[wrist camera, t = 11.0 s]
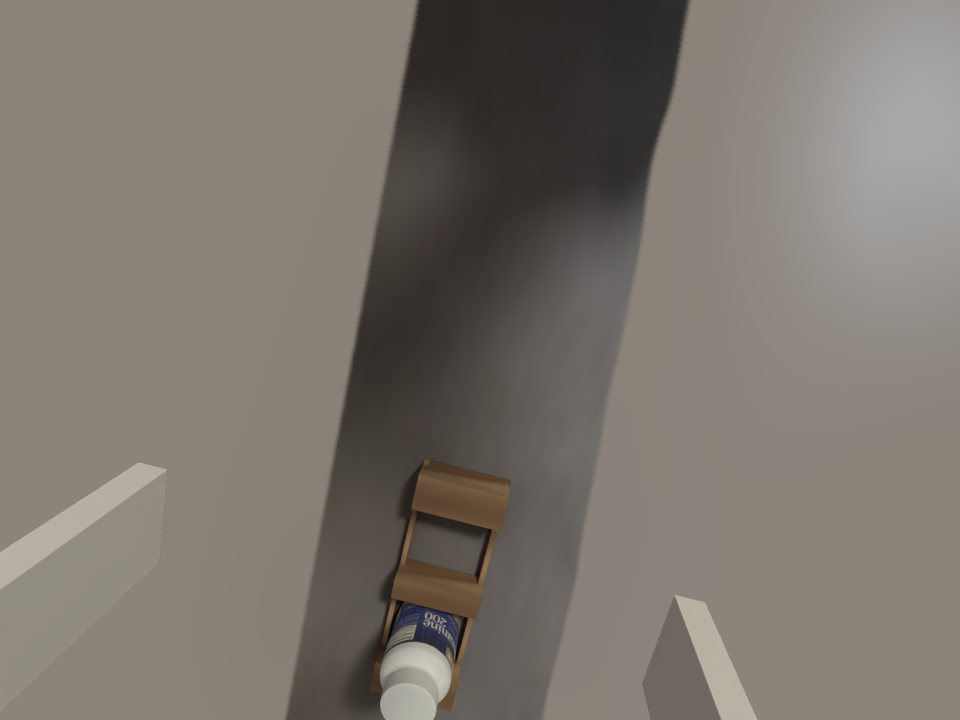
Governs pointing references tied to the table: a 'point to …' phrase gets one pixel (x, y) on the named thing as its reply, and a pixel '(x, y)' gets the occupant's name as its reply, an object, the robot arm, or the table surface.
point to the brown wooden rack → (438, 586)
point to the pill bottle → (418, 662)
